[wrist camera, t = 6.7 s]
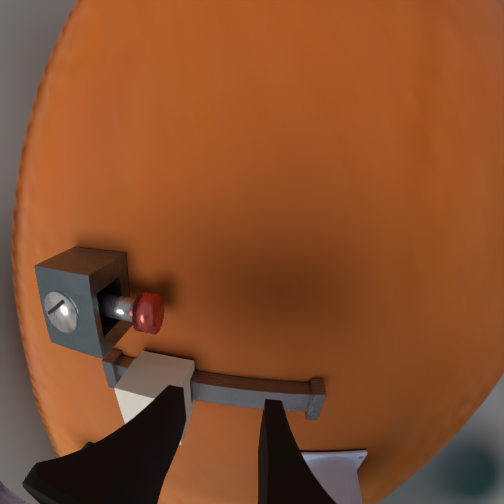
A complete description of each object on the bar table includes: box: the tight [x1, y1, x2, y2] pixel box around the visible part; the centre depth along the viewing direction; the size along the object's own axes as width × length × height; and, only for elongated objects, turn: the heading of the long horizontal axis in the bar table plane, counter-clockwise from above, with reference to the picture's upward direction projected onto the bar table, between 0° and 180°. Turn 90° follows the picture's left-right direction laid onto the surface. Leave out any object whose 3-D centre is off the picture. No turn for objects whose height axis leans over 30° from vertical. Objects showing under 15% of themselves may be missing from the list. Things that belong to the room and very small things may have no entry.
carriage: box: [114, 351, 196, 445], centre depth 20 cm, size 5×4×5 cm
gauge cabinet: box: [35, 247, 133, 359], centre depth 18 cm, size 6×5×5 cm
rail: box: [102, 348, 326, 420], centre depth 21 cm, size 3×18×2 cm, turn 86°
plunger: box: [98, 292, 164, 334], centre depth 18 cm, size 3×4×3 cm, turn 86°
